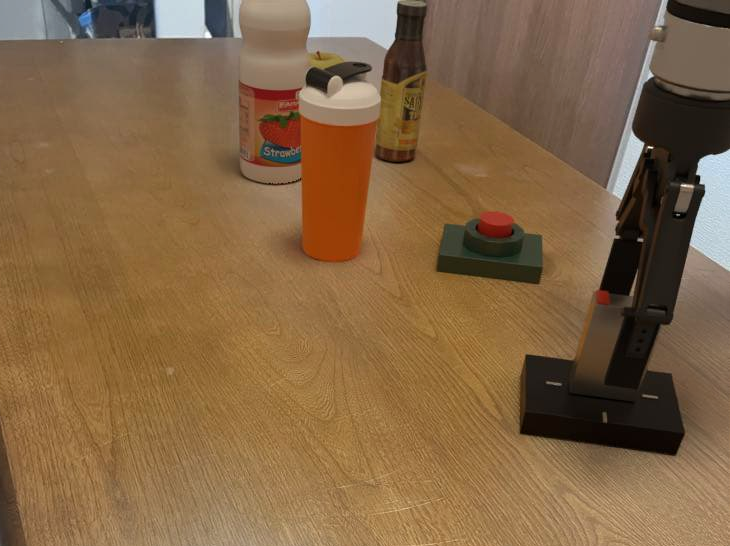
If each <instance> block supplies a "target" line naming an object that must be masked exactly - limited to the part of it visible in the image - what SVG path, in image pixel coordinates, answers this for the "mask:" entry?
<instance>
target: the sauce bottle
mask: <svg viewBox="0 0 730 546" xmlns="http://www.w3.org/2000/svg"><path fill="white" fill-rule="evenodd" d="M427 9H428V3H426V2H424V1H421V0H398V1H397V3H396V24H395V25H396V26H395V32H394V40H393V42H392V44H391V45H390V47H389V48H388V50H387V51H386V53H385V56H384V60H383V68H382V76H381V82H380V91H379V95H380V97H381V106H380V117H379V119H378V120H377V126H376V134H375V142H374V143H375V150H374V151H375V152H374V153H375V155H376V156H377V157H378V158H379V159H381V160H385V161H389V162H408V161H411V160H412V159H414V157H415V154H416V149H417V148H418V144H419V143H418V142H419V136H420V127H421V119H422V112H423V103H424V97H425V88H426V81H427V76H428V75H427V74H428V70H427V69H428V67H427V61H426V55H425V50H424V44H423V39H424V36H423V34H424V33H423V32H424V24H425V19H426V16H427V12H428V11H427Z"/></svg>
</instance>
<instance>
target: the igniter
mask: <svg viewBox="0 0 730 546" xmlns="http://www.w3.org/2000/svg"><path fill="white" fill-rule="evenodd" d="M479 218H480V217H478V218H477V217H476V218H473V219H470V220H469V221H467V222H466V223H465V225H461V224H453V223H444V224H443V229H442V234H441V242H440V246H439V252H438V259H437V265H436V266H437V267H436V272H437V273H445V274H452V275H453V274H455V275H462V276H467V277H468V276H469V277H477V278H484V279H485V278H486V279H493V280H499V281H500V280H502V281H508V282H516V283H524V284H532V285H540V283H541V277H542V274H543V269H544V254H543V253H544V252H543V235H542V234H535V233H528V232H525V229H524V228H523V227H522V226H520V225H519V224H518V223H515V222H514V224H513V229H512V234H511V236H510V237H507V238H492V237H487V236H485V235H482V234H480V233H479V232H478V231H477V230H478V224H479Z"/></svg>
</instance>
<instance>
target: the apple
mask: <svg viewBox="0 0 730 546" xmlns="http://www.w3.org/2000/svg"><path fill="white" fill-rule="evenodd" d="M308 54H309V59H310V67H317V68H320V69H322V70H323V69H325V68H328V67H330V66H333V65H336V64H339V63H343V62H346V61H345V59H344V58H343V57H342V56H340V55H338V54H335V53H332V52H331V53H330V52H324V51H323V52H321V51H320V50H317V51H316V52H308Z"/></svg>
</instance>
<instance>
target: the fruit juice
mask: <svg viewBox="0 0 730 546" xmlns="http://www.w3.org/2000/svg"><path fill="white" fill-rule="evenodd" d="M311 15H312V14H311V8H310V6H309V3H308V2H307V0H241V3H240V5H239V9H238V25H239V30H240V34H241V38H242V46H241V49H240V51H239V55H238V66H237V68H238V69H237V75H238V77H237V78H238V79H237V81H238V137H239V143H238V145H239V168H240V172H241V173H242V175H243V176H244V177H245V178H247V179H249V180H251V181H254V182H257V183H263V184H269V183H271V184H270V185H282V184H281V183H283V184H289V183H288V182H290V183H293V182H292V181H294V182H297V181H299V180H301V179H302V174H301V115H300V114H299V112H298V110H299V93H300V91H301V90H302V88H303V87H304V86H305V74H306V72H307V70H308V69H309V68H310V59H309V52H308V47H307V45H308V44H307V43H308V39H309V35H310V30H311V25H312V16H311ZM300 178H301V179H300ZM298 179H299V180H298ZM296 180H297V181H296ZM272 183H273V184H272ZM278 183H279V184H278Z"/></svg>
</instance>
